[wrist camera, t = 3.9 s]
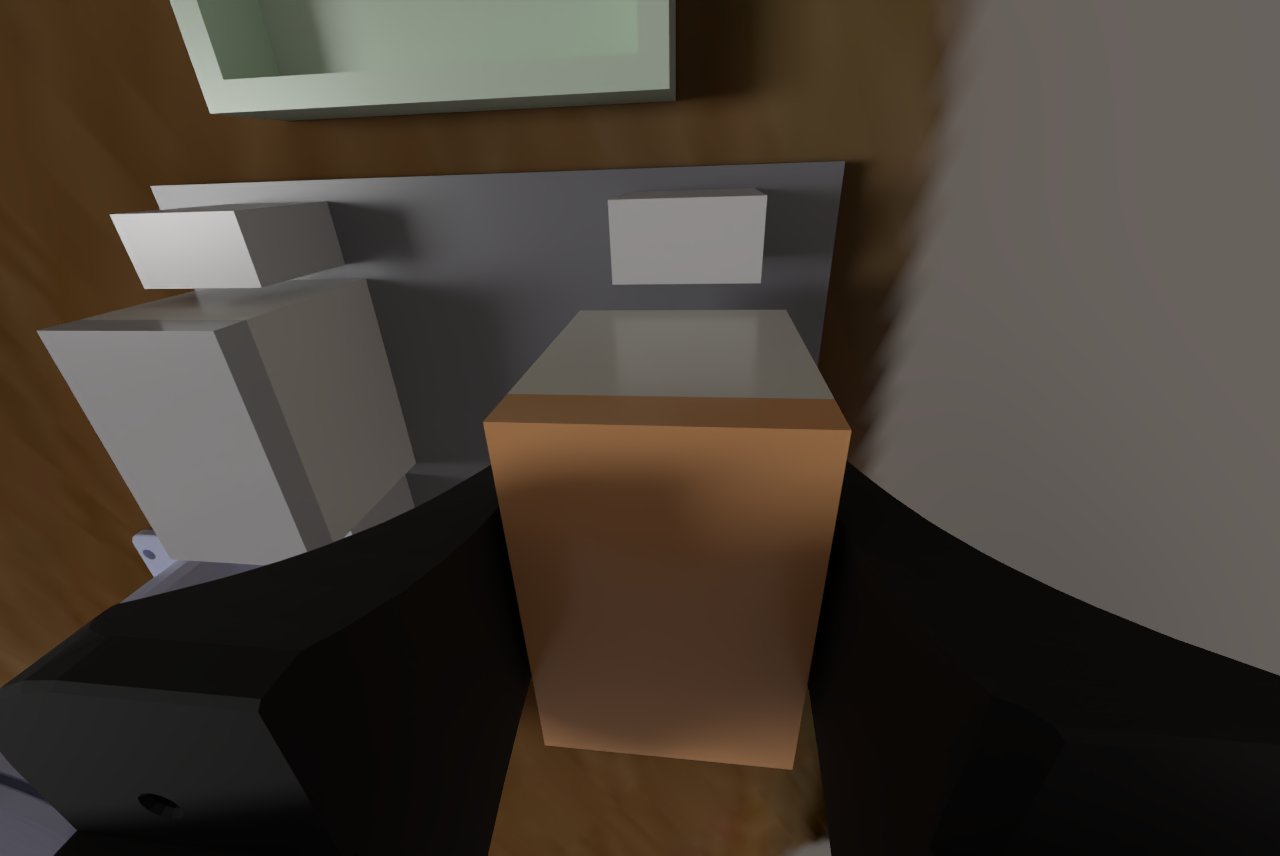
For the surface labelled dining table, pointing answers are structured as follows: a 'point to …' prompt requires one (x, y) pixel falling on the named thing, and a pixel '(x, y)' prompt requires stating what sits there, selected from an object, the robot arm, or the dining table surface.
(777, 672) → the block
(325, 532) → the block
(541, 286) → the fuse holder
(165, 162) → the dining table surface
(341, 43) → the tray
